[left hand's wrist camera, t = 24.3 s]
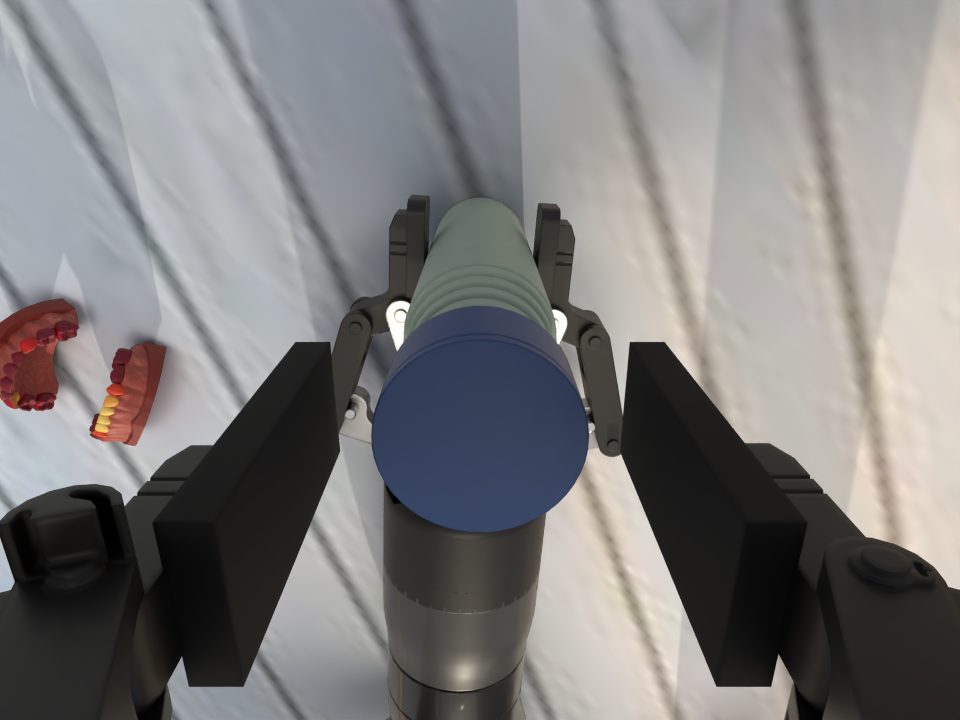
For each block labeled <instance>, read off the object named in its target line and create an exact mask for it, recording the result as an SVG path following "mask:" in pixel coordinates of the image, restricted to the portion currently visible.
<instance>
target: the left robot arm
mask: <svg viewBox="0 0 960 720" xmlns="http://www.w3.org/2000/svg"><path fill="white" fill-rule="evenodd" d="M339 453H340V445H339V434H338V423H337V412H336V401H335V390H334V379H333V368H332V357H331V346H330V342H295V343H294V345H293V346H292V347H291V349H290V350H289V351H288V352H287V354H286V355H285V356H284V357H283V359H282V360H281V361H280V362H279V364H278V365H277V366H276V367H275V369H274V370H273V371H272V372H271V374H270V375H269V376H268V377H267V379H266V380H265V381H264V382H263V384H262V385H261V386H260V387H259V389H258V390H257V391H256V392H255V394H254V395H253V396H252V398H251V399H250V400H249V401H248V403H247V404H246V405H245V406H244V408H243V409H242V410H241V411H240V413H239V414H238V415H237V416H236V418H235V419H234V420H233V421H232V423H231V424H230V425H229V426H228V428H227V429H226V430H225V431H224V433H223V434H222V435H221V436H220V438H219V439H218V440H217V442H216V443H215V444H214V445H191V446H189V447H188V448H186V449H184V450H183V451H181V452H179V453H177V454H176V455H174V456H172V457H171V458H169V459H167V460H166V461H165V462H164V463H163V464H162V465H161V466H160V468H159V469H158V470H157V471H156V472H155V473H154V474H153V475H152V477H151V478H150V481H147V482H146V483H145V484H144V485H143V487H142V488H141V489H140V490H139V491H138V492H137V493H138V494H137V496H134V497H133V498H132V499H131V500H130V501H129V502H128V503H127V504H126V506H125V507H124V503H123V499H122V495H121V493H120V492H118V491H117V490H115V489H114V488H113V487H110V486H104V485H98V484H89V485H75V486H70V487H66V488H62V489H57V490H53V491H49V492H47V493H44V494H42V495H40V496H37V497H35V498H32V499H30V500H27V501H26V502H24V503H22V504H21V505H19V506H17V507H16V508H14V509H13V510H11V511H9V512H8V513H7V514H6V515H5V516H4V517H3V518H2V519H1V520H0V539H1V542H2V545H3V548H4V551H5V554H6V557H7V560H8V563H9V566H10V569H11V572H12V575H13V578H14V581H15V583H14V585H13V587H12V589H11V590H9V591H6V592H1V593H0V720H171V716H172V705H171V698H170V693H169V689H168V685H167V683H168V681H169V679H170V677H171V675H172V673H173V672H174V670H175V668H176V666H177V664H178V662H179V661H180V659H181V657H182V658H183V662H184V667H185V671H186V676H187V680H188V684H189V687H244V684H245V682H246V679H247V677H248V674H249V672H250V669H251V667H252V665H253V662H254V660H255V657H256V655H257V652H258V650H259V648H260V645H261V643H262V640H263V638H264V635H265V633H266V631H267V628H268V626H269V623H270V621H271V618H272V616H273V613H274V611H275V609H276V606H277V604H278V601H279V599H280V596H281V594H282V592H283V589H284V587H285V584H286V582H287V579H288V577H289V574H290V572H291V570H292V567H293V565H294V562H295V560H296V557H297V555H298V553H299V550H300V548H301V545H302V543H303V540H304V538H305V535H306V533H307V531H308V528H309V526H310V523H311V521H312V518H313V516H314V514H315V511H316V509H317V506H318V504H319V501H320V499H321V496H322V494H323V492H324V489H325V487H326V484H327V482H328V479H329V477H330V475H331V472H332V470H333V467H334V465H335V462H336V460H337V458H338V455H339ZM620 453H621V455H622V458H623V460H624V462H625V465H626V467H627V470H628V472H629V475H630V477H631V479H632V482H633V484H634V487H635V489H636V492H637V494H638V496H639V499H640V501H641V504H642V506H643V509H644V511H645V514H646V516H647V518H648V521H649V523H650V526H651V528H652V531H653V533H654V535H655V538H656V540H657V543H658V545H659V548H660V550H661V553H662V555H663V557H664V560H665V562H666V565H667V567H668V570H669V572H670V574H671V577H672V579H673V582H674V584H675V587H676V589H677V592H678V594H679V596H680V599H681V601H682V604H683V606H684V609H685V611H686V613H687V616H688V618H689V621H690V623H691V626H692V628H693V631H694V633H695V635H696V638H697V640H698V643H699V645H700V648H701V650H702V652H703V655H704V657H705V660H706V662H707V665H708V667H709V669H710V672H711V674H712V677H713V679H714V682H715V684H716V687H771V684H772V680H773V676H774V671H775V667H776V662H777V658H778V654H779V656H780V657H781V659H782V661H783V663H784V665H785V667H786V668H787V670H788V672H789V674H790V676H791V677H792V679H793V685H792V689H791V693H790V697H789V702H788V706H787V710H786V714H785V718H784V720H960V590H958V589H954V588H950V587H948V586H947V584H946V582H945V580H944V579H943V578H942V576H941V575H940V574H939V573H938V571H937V570H936V569H935V568H934V567H933V566H932V565H931V564H929V563H928V562H926V561H925V560H924V559H922V558H921V557H919V556H918V555H917V554H915V553H913V552H910V551H908V550H906V549H904V548H902V547H900V546H898V545H895V544H892V543H889V542H885V541H882V540H878V539H874V538H867V537H865V536H864V535H863V534H862V532H861V531H860V530H859V529H858V528H857V527H856V526H855V525H854V524H853V522H852V521H851V520H850V519H849V518H848V517H847V516H846V515H845V514H844V513H843V511H842V510H841V509H840V508H839V507H838V506H837V505H836V504H835V503H834V501H833V500H832V499H831V498H830V497H829V496H828V495H827V494H823V489H822V488H821V487H820V486H819V485H818V484H817V483H816V482H815V480H814V479H810V475H809V474H808V473H807V472H806V470H805V469H804V468H803V467H802V466H801V465H800V464H799V463H798V462H797V461H796V459H795V458H793V457H792V456H790V455H788V454H786V453H785V452H783V451H781V450H780V449H778V448H776V447H775V446H773V445H771V444H770V443H744V442H743V440H742V439H741V438H740V436H739V435H738V434H737V433H736V431H735V430H734V429H733V428H732V426H731V425H730V424H729V423H728V421H727V420H726V419H725V418H724V416H723V415H722V414H721V413H720V411H719V410H718V409H717V408H716V406H715V405H714V404H713V403H712V401H711V400H710V399H709V398H708V396H707V395H706V394H705V393H704V391H703V390H702V389H701V387H700V386H699V385H698V384H697V382H696V381H695V380H694V379H693V377H692V376H691V375H690V374H689V372H688V371H687V370H686V369H685V367H684V366H683V365H682V364H681V362H680V361H679V360H678V359H677V357H676V356H675V355H674V354H673V352H672V351H671V350H670V349H669V347H668V346H667V345H666V343H665V342H630V346H629V357H628V368H627V379H626V390H625V401H624V412H623V423H622V434H621V445H620Z"/></svg>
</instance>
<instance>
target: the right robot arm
mask: <svg viewBox="0 0 960 720" xmlns="http://www.w3.org/2000/svg"><path fill="white" fill-rule="evenodd" d="M429 212H430V197H429V196H423V195H411V197H410V198H409V199H408V205H407V210H403V209H399V210H398V211H397V213H396V214H395V215H394V218H393V220H392V223H391V225H390V228H389V242H390V243H389V290H388V291H387V292H386V293H384V294H382V295H379V296H375V297H372V298H370V297H360V298H358V299H357V300H356V301H355V302H354V303H353V305H352V306H351V309H350V312H349V313H347V314H346V316H345V317H344V319H343V320H342V322H341V325H340V329H339V332H338V336H337V339H336V342H335V346H334V349H333V353H332V356H331V357H332V368H333V379H334V390H335V401H336V412H337V423H338V434H341V435H344V436H347V437H351V438H354V439H357V440H360V441H364V442H367V443H370V444H372V440H371V430H372V420H373V416H374V413H373V412H372V410H371V408H370V395H369V393H368V391H367V390H366V389H364V388H363V387H360V386H357V384H358V381H359V378H360V375H361V371H362V368H363V365H364V362H365V359H366V356H367V352H368V349H369V346H370V343H371V340H372V337H373V335H376V334H380V333H383V332H387V331H390V332H391V335H392V338H393V341H394V344H395V348H396V351H398V349H399V347H400V346H401V345H402V343H403V337H404V336H403V333H404V323H405V318H406V314H407V312H408V309H409V306H410V303H411V300H412V298H413V295H414V292H415V289H416V287H417V284H418V281H419V278H420V275H421V273H422V270H423V267H424V264H425V262H426V259H427V256H428V246H429ZM574 245H575V237H574V233H573V229H572V226H571V225H570V223H569V222H568V221H567V220H561V219H560V208H559V207H558V206H557V205H556V204H546V203H539V204H538V209H537V218H536V229H535V240H534V251H533V258H534V261H535V264H536V267H537V269H538V272H539V275H540V278H541V280H542V283H543V286H544V289H545V291H546V294H547V297H548V300H549V302H550V305H551V308H552V311H553V314H554V318H555V322H556V330H557V343H558V344H560V342H561V340H562V341H564V342H567V343H569V344H572V345H574V346H576V349H577V355H578V360H579V366H580V371H581V376H582V382H583V387H584V392H585V398H583V399H582V402H583V405H584V408H585V410H586V415H587V419H588V426H589V445H588V449H593V448H598V447H599V449H600V451H601V452H602V453H603V454H604V455H606V456H609V457H615V456H618V455H620V454H621V453H620V445H621V434H622V423H623V415H622V408H621V402H620V396H619V390H618V384H617V378H616V372H615V366H614V360H613V354H612V348H611V342H610V337H609V335H608V333H607V331H606V329H605V328H604V326H603V324H602V323H601V321H600V319H599V317H598V316H597V314H596V313H594V312H593V311H590V310H582V309H579V308H577V307H575V306H573V305H571V304H570V303H569V302H568V297H569V289H570V280H571V271H572V263H573V253H574ZM545 518H546V513H544V514H543V515H541V516H540V517H538V518H536V519H534V520H532V521H530V522H528V523H525V524H523V525H520V526H517V527H514V528H510V529H505V530H501V531H492V532H468V531H459V530H455V529H451V528H446V527H443V526H441V525H438V524H435V523H433V522H430V521H428V520H426V519H424V518H422V517H421V516H419V515H418V514H416V513H414V512H413V511H411V510H410V509H409V508H408V507H406V506H405V505H404V504H403V503H402V502H401V501H400V500H399V499H398V498H397V497H396V496H395V495H394V494H393V493H392V492H391V490H390V489H389V487H388V486H387V485H386V483H385V482H384V576H383V597H384V612H385V619H386V624H387V630H388V700H389V707H390V712H391V716H389V717H388V718H387V719H386V720H526V717H525V712H524V708H523V705H522V702H521V698H520V690H521V683H522V674H523V666H524V657H525V648H526V641H527V637H528V634H529V631H530V627H531V624H532V620H533V616H534V611H535V604H536V595H537V587H538V579H539V570H540V561H541V552H542V544H543V535H544V527H545Z"/></svg>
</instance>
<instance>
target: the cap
mask: <svg viewBox="0 0 960 720" xmlns="http://www.w3.org/2000/svg"><path fill="white" fill-rule="evenodd" d="M371 440H372V450H373V455H374V459H375V462H376V465H377V467H378V470H379V472H380V474H381V476H382V478H383V480H384V482H385V483H386V485H387V486H388V487H389V489H390V490H391V492H392V493H393V494H394V495H395V496H396V497H397V498H398V499H399V500H400V501H401V502H402V503H403V504H404V505H405V506H406V507H408V508H409V509H410V510H411V511H413V512H414V513H416V514H418V515H419V516H421V517H422V518H424V519H426V520H428V521H430V522H433V523H435V524H438V525H441V526H443V527H446V528H451V529H455V530H459V531H468V532H492V531H501V530H505V529H510V528H514V527H517V526H520V525H523V524H525V523H528V522H530V521H532V520H534V519H536V518H538V517H540V516H541V515H543V514H544V513H546V512H548V511H549V510H550V509H551V508H553V507H554V506H555V505H556V504H558V503H559V502H560V501H561V500H562V499H563V498H564V497H565V495H566V494H567V493H568V492H569V491H570V489H571V488H572V487H573V485H574V484H575V482H576V480H577V478H578V477H579V475H580V473H581V471H582V468H583V466H584V463H585V460H586V456H587V451H588V445H589V426H588V419H587V415H586V410H585V408H584V405H583V402H582V399H581V396H580V393H579V391H578V388H577V385H576V382H575V379H574V376H573V374H572V371H571V368H570V365H569V363H568V360H567V358H566V356H565V354H564V352H563V350H562V349H561V347H560V346H559V344H558V343H557V342H556V340H555V339H554V338H553V337H552V336H551V335H550V334H549V333H548V332H547V331H546V330H545V329H544V328H542V327H541V326H540V325H539V324H537V323H536V322H534V321H533V320H531V319H529V318H527V317H526V316H524V315H521V314H519V313H516V312H514V311H511V310H507V309H503V308H498V307H491V306H470V307H461V308H457V309H453V310H449V311H447V312H444V313H442V314H439V315H437V316H435V317H433V318H431V319H429V320H428V321H426V322H425V323H423V324H422V325H420V326H419V327H418V328H416V329H415V330H414V331H413V332H412V333H411V334H410V335H409V336H408V337H407V338H406V340H405V341H404V342H403V343H402V345H401V346H400V347H399V349H398V351H397V353H396V354H395V356H394V358H393V361H392V363H391V366H390V368H389V371H388V374H387V377H386V380H385V383H384V385H383V388H382V391H381V394H380V397H379V400H378V403H377V405H376V408H375V412H374V416H373V420H372V430H371Z"/></svg>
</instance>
